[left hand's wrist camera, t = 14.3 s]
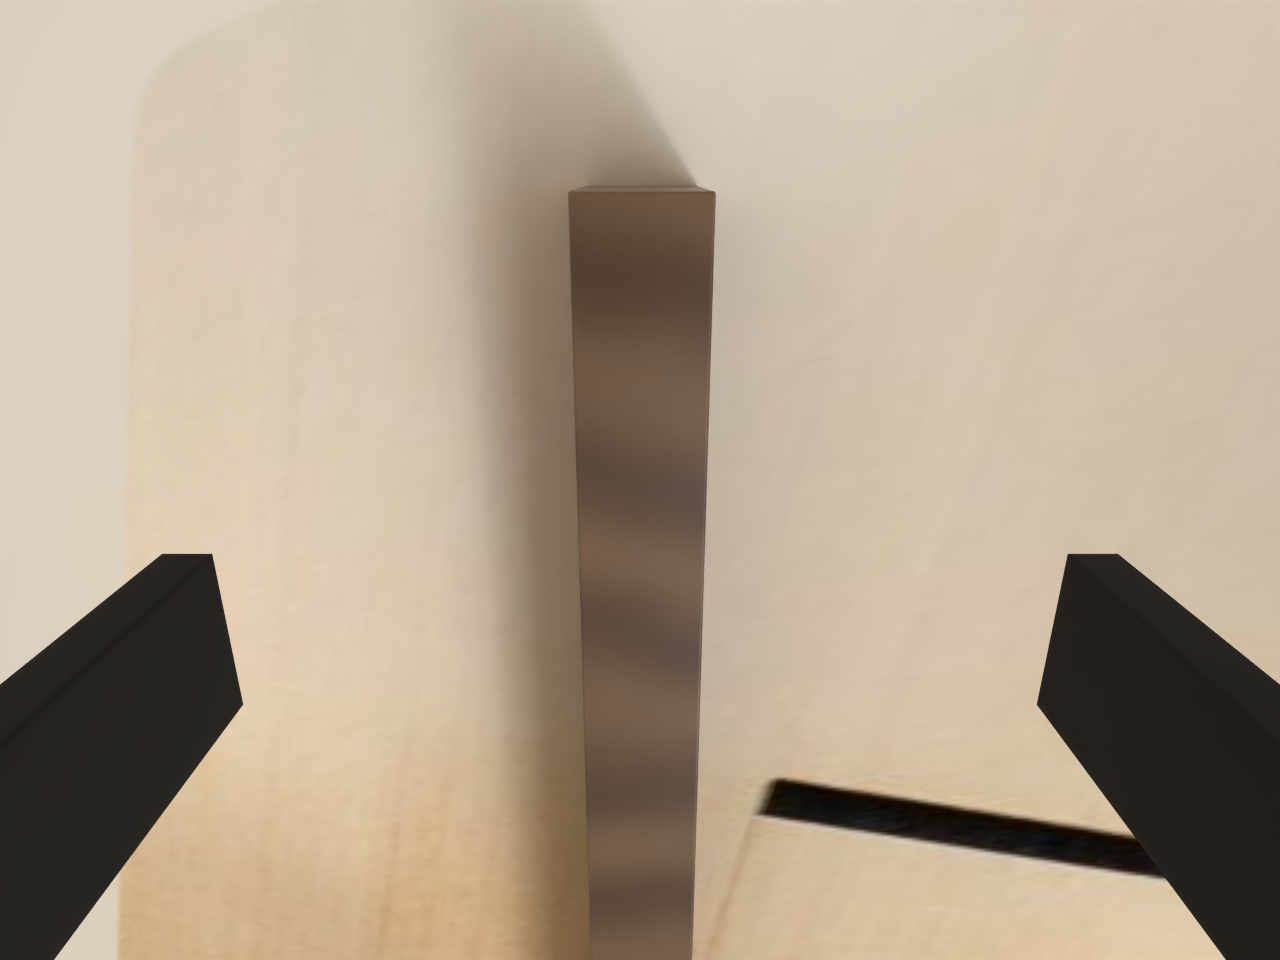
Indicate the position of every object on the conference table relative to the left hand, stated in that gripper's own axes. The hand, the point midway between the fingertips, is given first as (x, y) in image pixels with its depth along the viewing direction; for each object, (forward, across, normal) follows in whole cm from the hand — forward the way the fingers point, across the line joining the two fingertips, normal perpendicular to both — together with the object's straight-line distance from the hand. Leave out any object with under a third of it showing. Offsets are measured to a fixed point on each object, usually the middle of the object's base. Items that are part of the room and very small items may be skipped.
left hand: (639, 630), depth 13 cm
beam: (+22, 0, -29) cm, 36 cm away
